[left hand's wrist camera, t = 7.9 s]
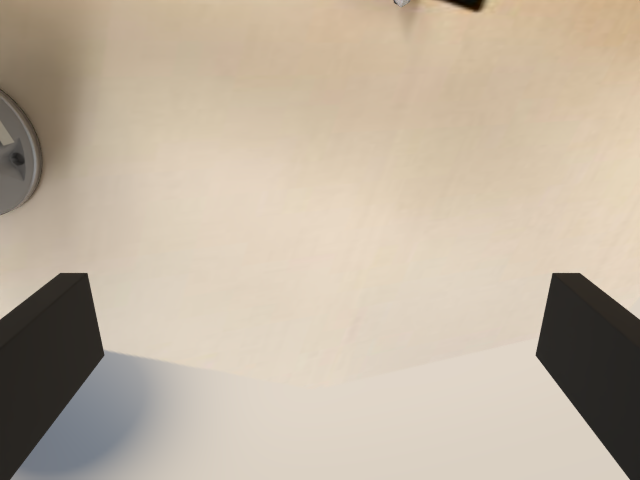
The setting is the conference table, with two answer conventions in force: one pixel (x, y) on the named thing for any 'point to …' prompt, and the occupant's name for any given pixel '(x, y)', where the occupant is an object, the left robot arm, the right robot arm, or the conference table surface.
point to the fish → (401, 2)
